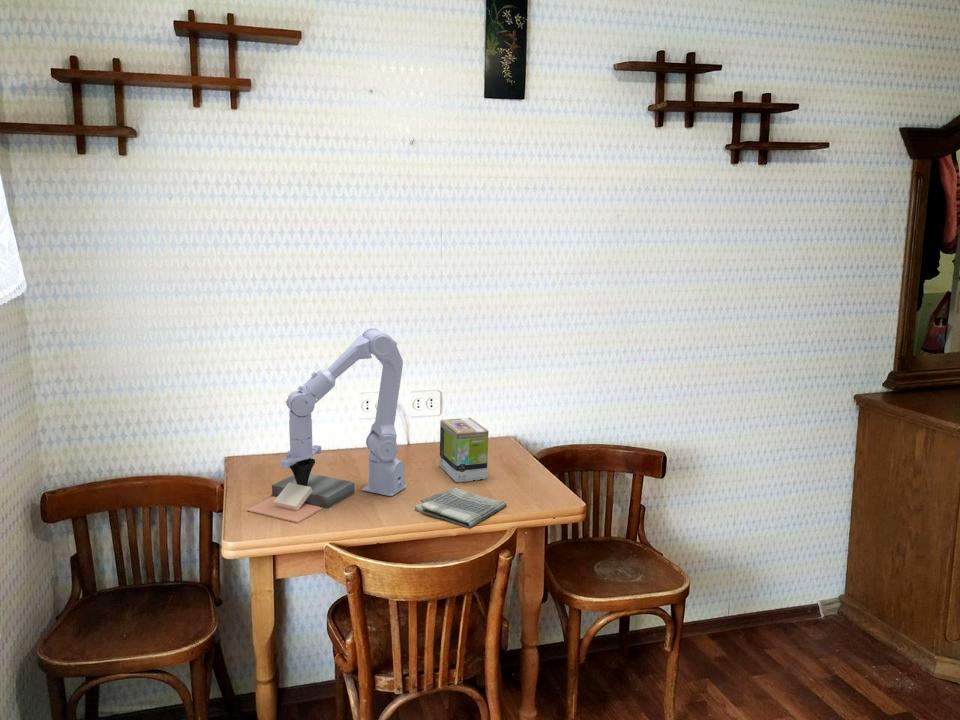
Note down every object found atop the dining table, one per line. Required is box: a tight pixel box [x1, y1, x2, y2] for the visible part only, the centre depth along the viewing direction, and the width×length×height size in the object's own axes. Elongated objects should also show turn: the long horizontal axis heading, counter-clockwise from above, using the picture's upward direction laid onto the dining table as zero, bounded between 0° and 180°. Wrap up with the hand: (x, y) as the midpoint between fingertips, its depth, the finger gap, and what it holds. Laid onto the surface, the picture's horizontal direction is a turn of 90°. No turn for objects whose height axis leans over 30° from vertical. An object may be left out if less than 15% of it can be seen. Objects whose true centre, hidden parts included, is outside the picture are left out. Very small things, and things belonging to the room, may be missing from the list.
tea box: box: [439, 417, 490, 483], centre depth 224 cm, size 15×10×15 cm, turn 22°
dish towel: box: [414, 487, 507, 529], centre depth 200 cm, size 19×18×3 cm
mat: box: [246, 496, 324, 524], centre depth 196 cm, size 16×10×1 cm, turn 65°
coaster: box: [274, 483, 312, 511], centre depth 198 cm, size 7×7×2 cm
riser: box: [271, 472, 356, 509], centre depth 206 cm, size 18×12×3 cm, turn 65°
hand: (302, 486), depth 202 cm, fingers closed
